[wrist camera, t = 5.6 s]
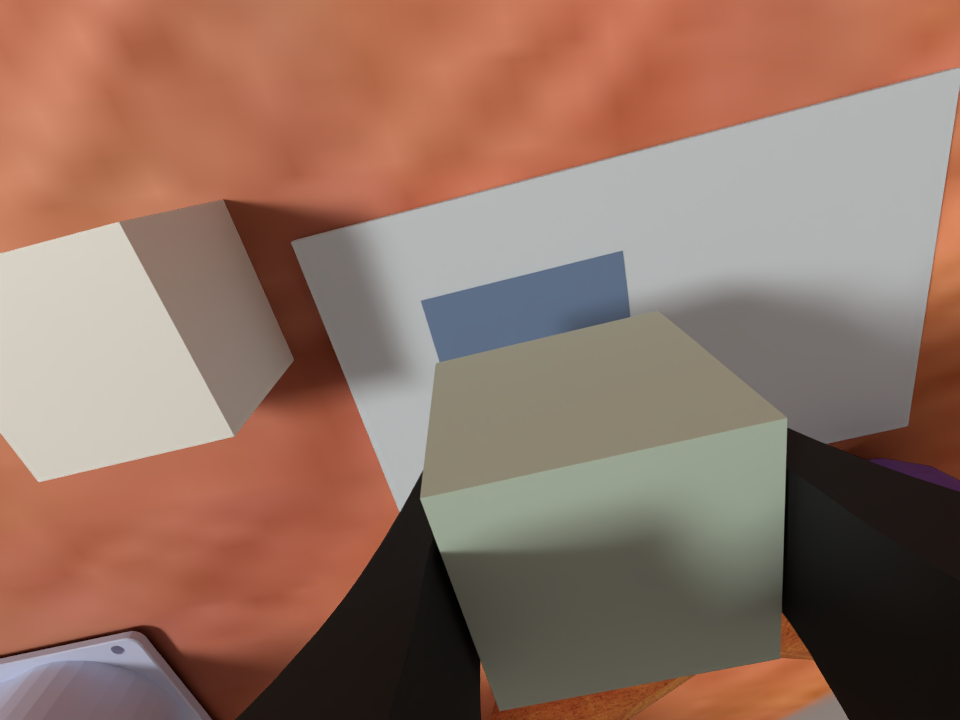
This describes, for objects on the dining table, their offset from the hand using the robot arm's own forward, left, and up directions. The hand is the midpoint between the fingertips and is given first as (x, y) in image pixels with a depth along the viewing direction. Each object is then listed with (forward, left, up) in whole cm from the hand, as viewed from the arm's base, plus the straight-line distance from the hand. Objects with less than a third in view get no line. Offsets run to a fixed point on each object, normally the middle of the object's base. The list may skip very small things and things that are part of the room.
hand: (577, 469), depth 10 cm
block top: (-10, +4, -6) cm, 12 cm away
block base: (0, 0, -2) cm, 2 cm away
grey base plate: (+3, 0, -6) cm, 6 cm away
